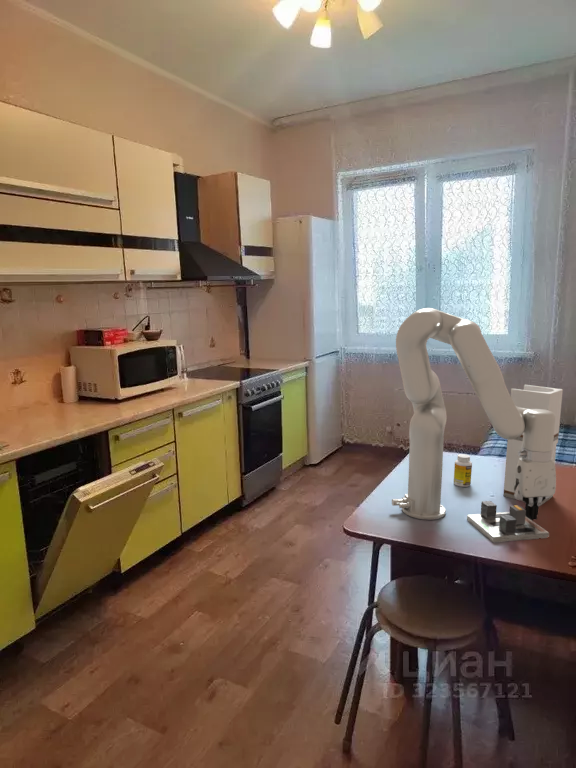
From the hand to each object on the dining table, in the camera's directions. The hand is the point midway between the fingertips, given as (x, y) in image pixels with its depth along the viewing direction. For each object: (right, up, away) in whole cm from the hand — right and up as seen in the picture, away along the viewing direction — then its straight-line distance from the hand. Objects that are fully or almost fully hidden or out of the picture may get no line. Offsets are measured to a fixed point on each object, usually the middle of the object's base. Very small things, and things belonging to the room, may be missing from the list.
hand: (530, 517), depth 147 cm
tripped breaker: (-4, -1, -1) cm, 4 cm away
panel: (-7, -3, -1) cm, 8 cm away
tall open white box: (+9, +1, +22) cm, 24 cm away
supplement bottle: (-8, +3, +32) cm, 34 cm away
